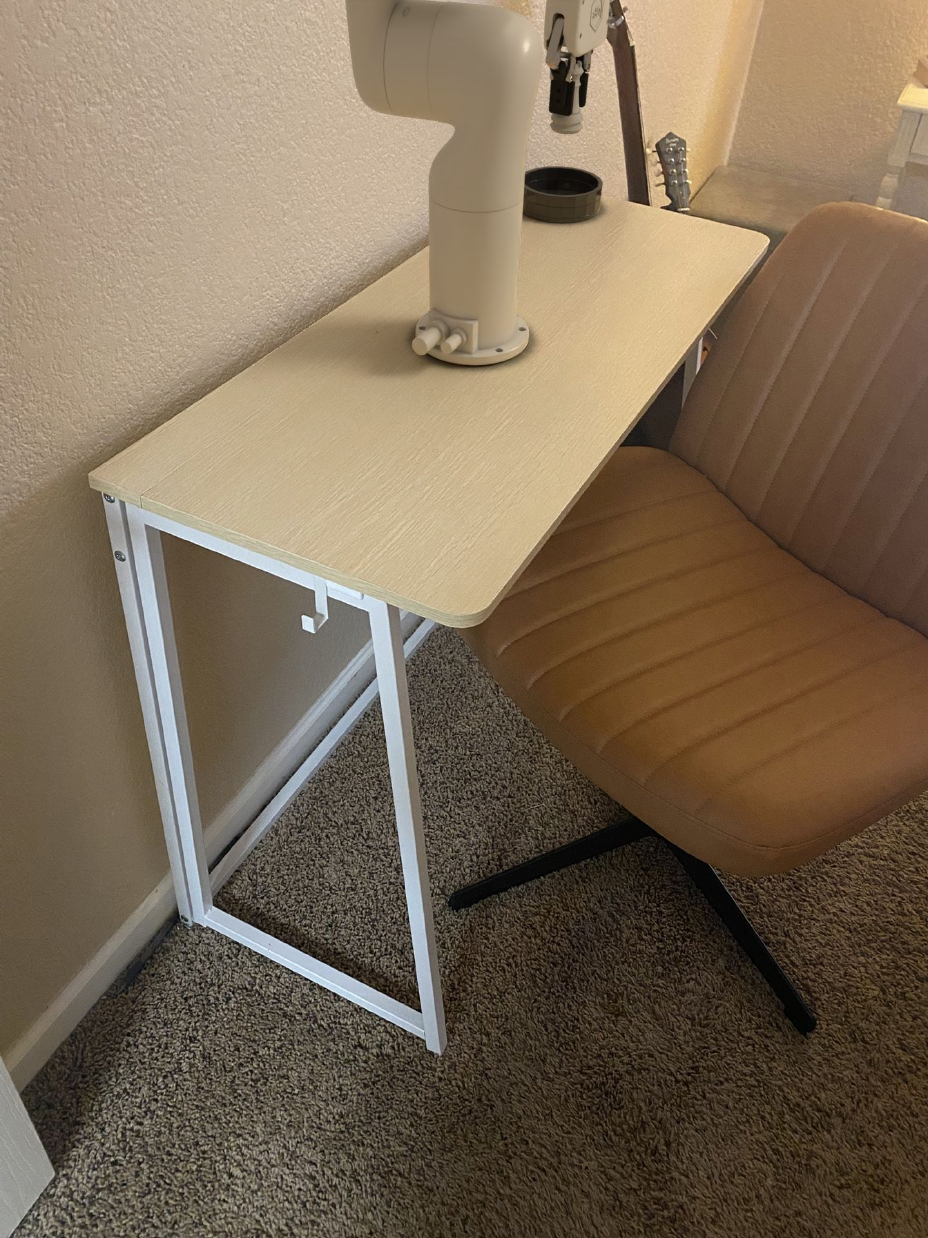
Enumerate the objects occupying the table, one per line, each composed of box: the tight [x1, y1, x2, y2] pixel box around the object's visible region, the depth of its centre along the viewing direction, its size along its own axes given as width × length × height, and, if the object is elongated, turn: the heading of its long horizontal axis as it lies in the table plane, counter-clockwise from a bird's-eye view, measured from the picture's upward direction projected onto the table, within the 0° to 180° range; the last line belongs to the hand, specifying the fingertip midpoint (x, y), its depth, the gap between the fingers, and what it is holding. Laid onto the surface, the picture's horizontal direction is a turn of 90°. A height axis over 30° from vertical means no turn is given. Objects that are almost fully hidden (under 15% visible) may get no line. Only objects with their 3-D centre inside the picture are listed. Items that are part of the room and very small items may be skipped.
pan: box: [523, 165, 604, 224], centre depth 131 cm, size 12×12×4 cm
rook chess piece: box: [549, 59, 584, 135], centre depth 123 cm, size 4×4×8 cm
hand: (567, 107), depth 124 cm, fingers closed on rook chess piece, 3 cm apart
